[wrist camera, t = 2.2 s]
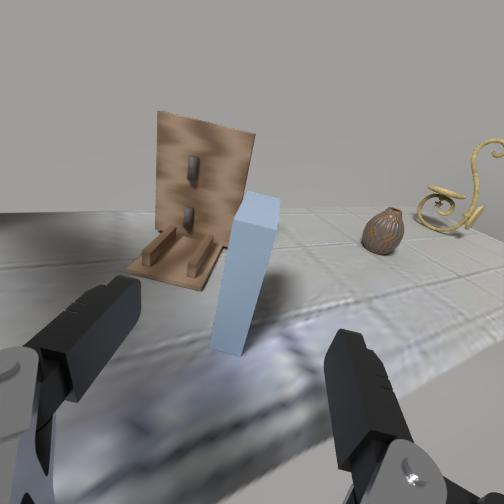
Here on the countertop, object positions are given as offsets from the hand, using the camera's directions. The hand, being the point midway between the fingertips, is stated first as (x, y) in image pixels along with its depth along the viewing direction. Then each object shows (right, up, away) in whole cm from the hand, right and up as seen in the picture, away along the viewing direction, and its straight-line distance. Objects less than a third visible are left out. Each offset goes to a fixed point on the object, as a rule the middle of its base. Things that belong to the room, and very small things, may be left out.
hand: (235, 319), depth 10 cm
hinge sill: (-9, +2, +24) cm, 26 cm away
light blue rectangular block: (-1, -5, +16) cm, 17 cm away
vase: (+25, +3, +41) cm, 48 cm away
